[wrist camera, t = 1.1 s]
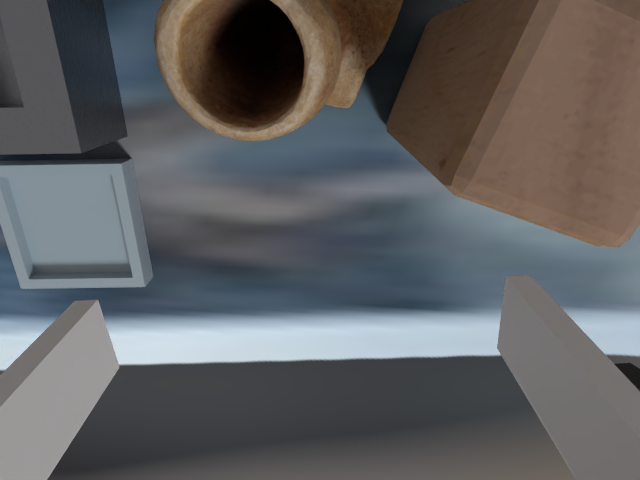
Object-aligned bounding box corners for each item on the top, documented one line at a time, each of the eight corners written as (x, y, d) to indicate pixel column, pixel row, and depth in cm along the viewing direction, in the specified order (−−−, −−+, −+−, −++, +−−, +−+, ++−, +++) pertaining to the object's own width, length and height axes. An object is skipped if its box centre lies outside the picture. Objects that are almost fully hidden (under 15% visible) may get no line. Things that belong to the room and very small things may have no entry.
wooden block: (380, 131, 38) (441, 194, 19) (428, 12, 34) (558, -51, 16) (480, 168, 39) (626, 260, 21) (536, 57, 36) (773, 48, 17)
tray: (-1, 160, 39) (-19, 165, 37) (131, 158, 39) (121, 163, 37) (35, 278, 43) (21, 288, 41) (153, 276, 43) (145, 286, 41)
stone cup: (193, 99, 37) (117, 119, 23) (210, -61, 32) (131, -156, 18) (362, 139, 38) (387, 181, 24) (401, -10, 34) (460, -62, 20)
